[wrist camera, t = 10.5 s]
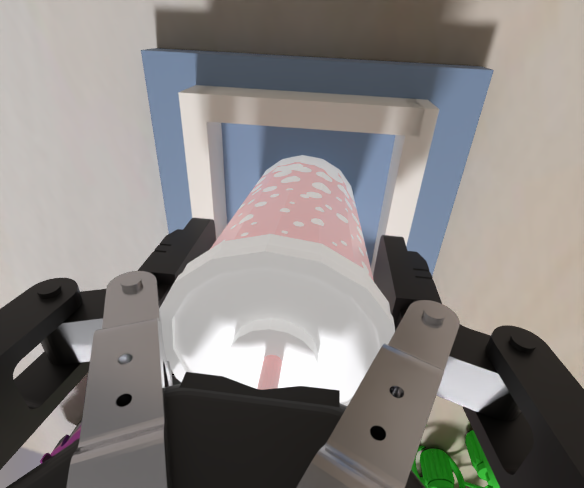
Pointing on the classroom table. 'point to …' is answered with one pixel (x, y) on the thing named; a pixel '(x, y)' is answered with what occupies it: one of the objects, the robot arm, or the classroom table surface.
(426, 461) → the chandelier
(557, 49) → the classroom table surface
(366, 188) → the blue square tray
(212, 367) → the beverage cup
